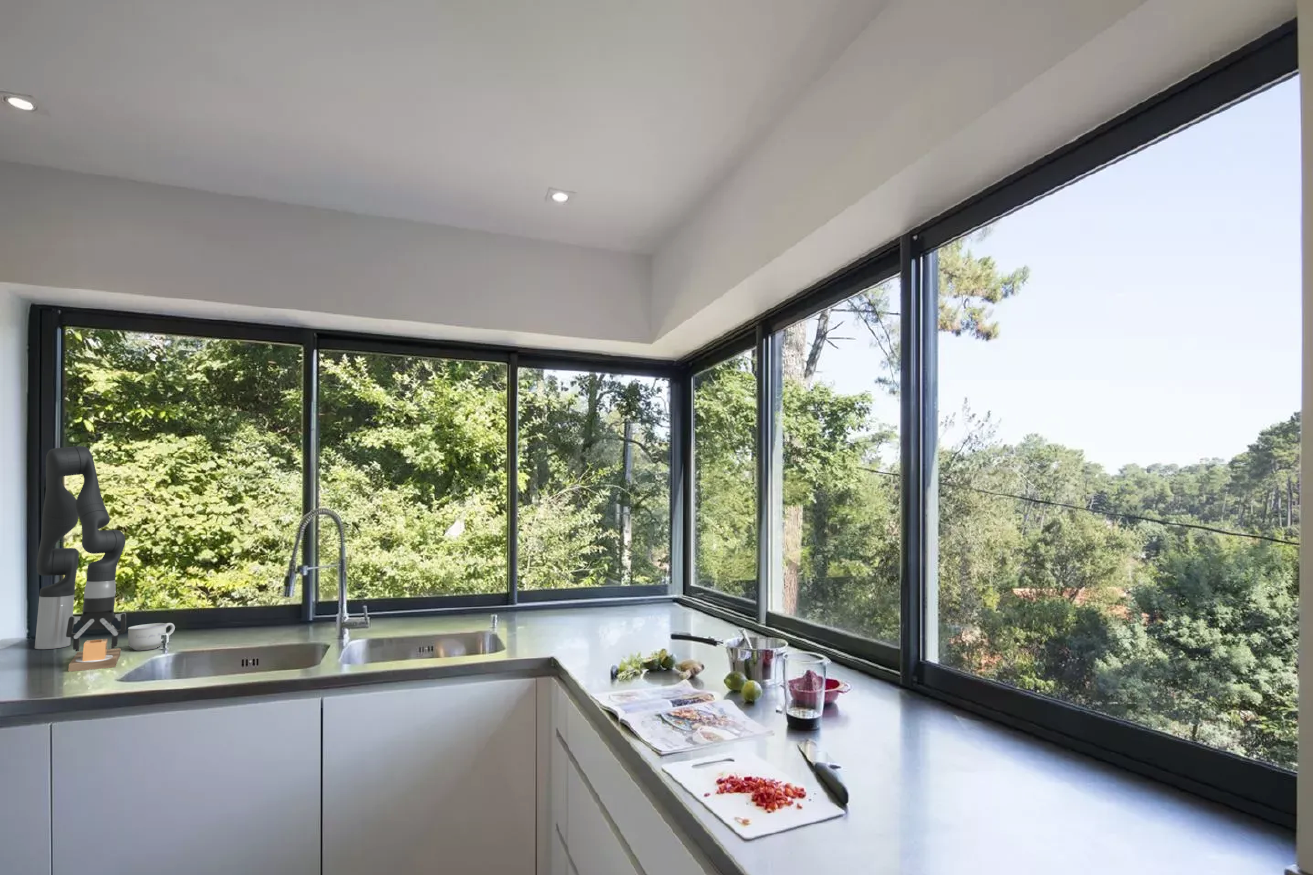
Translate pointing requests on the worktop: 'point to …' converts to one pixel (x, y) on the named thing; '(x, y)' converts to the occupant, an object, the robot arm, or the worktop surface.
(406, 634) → the worktop surface
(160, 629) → the teacup
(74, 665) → the shaft board
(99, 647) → the orange block
